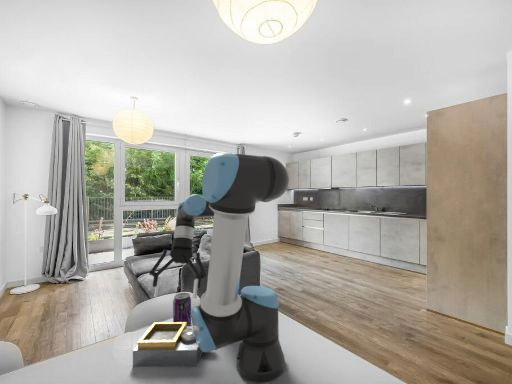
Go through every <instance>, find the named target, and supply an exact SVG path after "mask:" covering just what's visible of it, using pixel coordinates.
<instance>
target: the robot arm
mask: <svg viewBox="0 0 512 384" xmlns="http://www.w3.org/2000/svg"><path fill="white" fill-rule="evenodd" d="M289 181H290V178H289V173H288V170H287V168H286V167H285V166H284V164H283V163H282V162H281V161H280V160H278V159H277V158H274V157H271V156H268V155H267V156H266V155H263V156H262V155H253V154H243V153H235V152H219V153H216V154H214V155H212V156H211V157H210V159H209V160H208V161H207V163H206V166H205V168H204V170H203V175H202V181H201V187H202V190H201V193H202V195H200V194H197V193H195V194H191V195H189V196H188V197H187V198H186V199H185V200H183V201H180V202H179V204H178V206H177V209H176V212H177V213H176V220H175V221H176V222H175V226H174V233H173V239H172V246H171V250H169V249H167V248H165V249H163V251H162V252H161V255H160V257H159V258H158V259H157V261H156V263H155V264H154V265H153V267H152V268H151V269H150V271H149V273H148V275H150V276H152V277H153V280H152V281H153V282H152V287H153V288H154V294H153V298H158V294H159V288H160V281H161V276H159V275H161V274H162V273H163V272H164V271H165V270H166V269H167V268H168V267H170V265H171V264H172V263H174V264H182V265H184V264H186V265H187V266H188V268H189V269H190V271H191V273H192V274H193V275H194V277H195V279H194V280H193V292H192V299H197V296H198V289H200V287H201V282H202V279H203V278H206V277H207V281H206V282H207V284H206V291H205V292H204V293H202V295H201V297H200V300H199V305H196V306H194V307H192V308H191V326H193V331H194V335H195V338H196V341H197V344H198V346H199V348H200V350H201V351H202V353H209V352H212V351H218V350H219V349H222V348H225V347H228V346H230V345H233V344H236V343H238V342H240V343H239V347H238V350H237V353H236V358H235V365H236V366H235V367H236V370H237V372H238V374H239V375H240V376H241V377H242V378H243V379H245V380H248V381H250V382H253V383H254V382H255V383H267V382H270V381H271V382H272V381H273V380H275V379H277V378H278V377H280V376H281V375H282V374H283V372H284V370H285V366H286V364H285V363H286V362H285V360H286V359H285V354H284V351H283V348H282V345H281V342H280V338H279V337H280V336H279V335H280V334H279V332H280V331H279V307H280V306H279V300H278V299H279V297H278V295H277V292H275V290H273V289H271V288H268V287H265V286H261V285H247V286H244V287H242V288H241V289H240V295H239V294H238V288H239V280H240V281H241V271H242V264H243V257H244V247H245V242H246V241H245V240H246V234H247V233H246V232H247V225H248V219H249V216H250V215H251V214H254V213H255V210H256V205H257V204H258V203H260V202H262V203H268V202H272V201H275V200H276V199H279V198H281V197H282V196H283V195H284V194H285V193H286V192H287V190H288V187H289ZM210 217H211V218H213V224H212V233H211V241H210V244H211V245H210V252H209V253H210V254H209V261H208V262H209V263H208V273H207V274H206V272H205V271H206V270H205V269H204V266H203V264H202V261H201V257H200V256H201V255H200V252H199V251H198V252H193V243H194V240H193V239H194V235H195V234H194V233H195V224H196V220H197V219H198V218H210ZM168 255H170V257H171V259H170V260H169V261H167V263H166V264H165V265H163V266H162V267H161V268H160V269H159V270H158V271H157V272H156V270H157V269H158V267H159V266H160V265H161V263H162V262H163V260H164V259H165V258H166V257H167V256H168ZM192 257H193V259H194V260H195V263H196V266H197V268H196V266H195V265H194V263H193V262H192Z"/></svg>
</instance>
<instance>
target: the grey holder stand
mask: <svg viewBox="0 0 512 384" xmlns="http://www.w3.org/2000/svg"><path fill="white" fill-rule="evenodd" d="M202 353H203V351H201V350H200V348H199V346H198V344H197V341H196V338H195V335H194V331H193V326H192V325H188V326H187V322H173V321H170V322H169V321H167V322H166V321H164V322H163V321H161V322H160V321H159V322H157V321H156V322H155V321H154V322H152V324H151V326H149V328H148V329H147V330H146V331H145V333H144V334H143V335H142V336H141V338H139V340H137V344H136V346H135V347H134V348H133V349H132V367H133V368H141V367H142V368H145V367H146V368H147V367H148V368H149V367H155V368H157V367H158V368H159V367H162V368H165V367H166V368H167V367H170V368H171V367H172V368H173V367H174V368H175V367H181V368H182V367H198V365H199V361H200V359H201V355H202Z"/></svg>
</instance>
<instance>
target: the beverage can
mask: <svg viewBox="0 0 512 384" xmlns="http://www.w3.org/2000/svg"><path fill="white" fill-rule="evenodd" d="M190 295H191V294H190V293H188V292H179V293H177V294H175V295H174V298H173V300H172V310H173V312H172V318H173V319H172V322H187V326H191V324H192V319H191V311H192V298H191V296H190Z"/></svg>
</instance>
